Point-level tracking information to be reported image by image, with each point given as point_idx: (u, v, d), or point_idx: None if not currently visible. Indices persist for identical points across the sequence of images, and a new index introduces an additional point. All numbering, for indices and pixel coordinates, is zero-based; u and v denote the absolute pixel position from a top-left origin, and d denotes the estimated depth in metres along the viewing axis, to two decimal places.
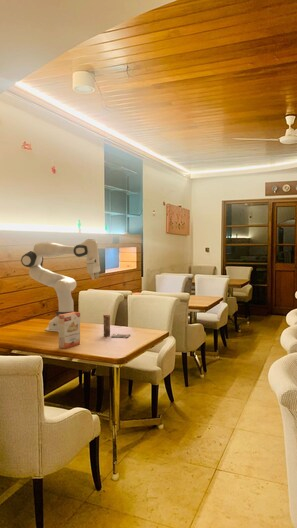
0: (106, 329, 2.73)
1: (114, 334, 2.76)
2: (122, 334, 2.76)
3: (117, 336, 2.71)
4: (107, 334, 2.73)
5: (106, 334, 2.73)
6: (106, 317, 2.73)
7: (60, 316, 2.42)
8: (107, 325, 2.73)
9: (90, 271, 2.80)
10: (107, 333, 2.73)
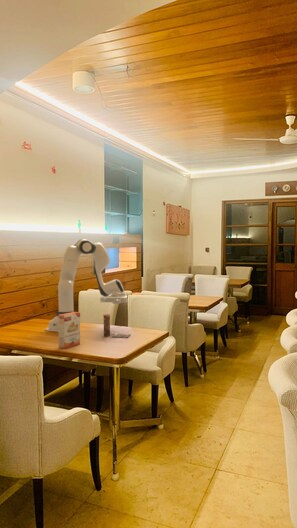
0: (106, 329, 2.73)
1: (114, 334, 2.76)
2: (122, 334, 2.76)
3: (117, 336, 2.71)
4: (107, 334, 2.73)
5: (106, 334, 2.73)
6: (106, 317, 2.73)
7: (60, 316, 2.42)
8: (107, 325, 2.73)
9: (126, 299, 2.90)
10: (107, 333, 2.73)
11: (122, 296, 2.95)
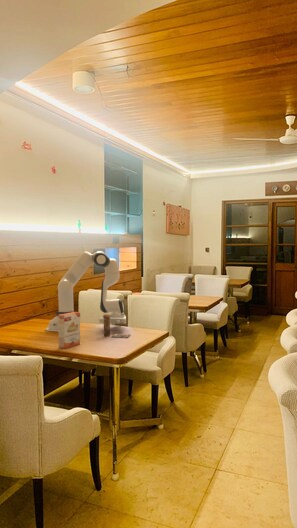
0: (106, 329, 2.73)
1: (114, 334, 2.76)
2: (122, 334, 2.76)
3: (117, 336, 2.71)
4: (107, 334, 2.73)
5: (106, 334, 2.73)
6: (106, 317, 2.73)
7: (60, 316, 2.42)
8: (107, 325, 2.73)
9: (125, 321, 2.88)
10: (107, 333, 2.73)
11: (121, 317, 2.93)
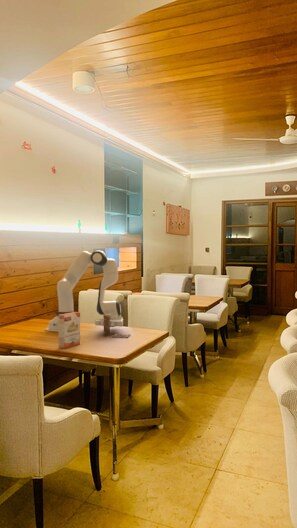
0: (106, 329, 2.73)
1: (114, 334, 2.76)
2: (122, 334, 2.76)
3: (117, 336, 2.71)
4: (107, 334, 2.73)
5: (106, 334, 2.73)
6: (106, 317, 2.73)
7: (60, 316, 2.42)
8: (107, 325, 2.73)
9: (122, 323, 2.79)
10: (107, 333, 2.73)
11: (118, 319, 2.83)
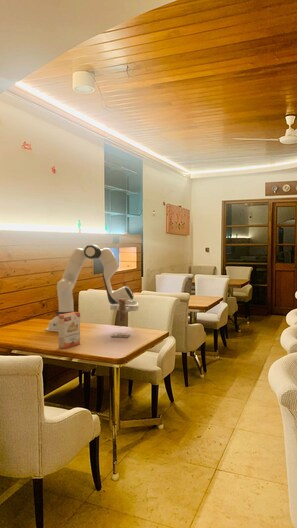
0: (122, 313, 2.71)
1: (114, 334, 2.76)
2: (122, 334, 2.76)
3: (117, 336, 2.71)
4: (123, 318, 2.71)
5: (122, 318, 2.71)
6: (122, 301, 2.70)
7: (60, 316, 2.42)
8: (123, 309, 2.71)
9: (137, 308, 2.76)
10: (123, 317, 2.71)
11: (133, 304, 2.81)
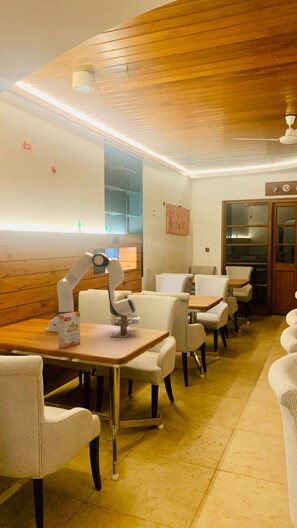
0: (123, 328, 2.71)
1: (114, 334, 2.76)
2: None
3: (117, 336, 2.71)
4: (124, 333, 2.71)
5: (123, 333, 2.71)
6: (123, 316, 2.70)
7: (60, 316, 2.42)
8: (124, 324, 2.71)
9: (138, 321, 2.76)
10: (124, 332, 2.71)
11: (134, 317, 2.81)
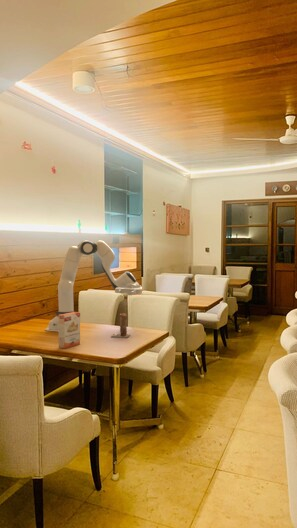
0: (123, 329, 2.71)
1: (114, 334, 2.76)
2: None
3: (117, 336, 2.71)
4: (124, 334, 2.71)
5: (123, 334, 2.71)
6: (123, 316, 2.70)
7: (60, 316, 2.42)
8: (124, 324, 2.71)
9: (141, 291, 2.88)
10: (124, 333, 2.71)
11: None
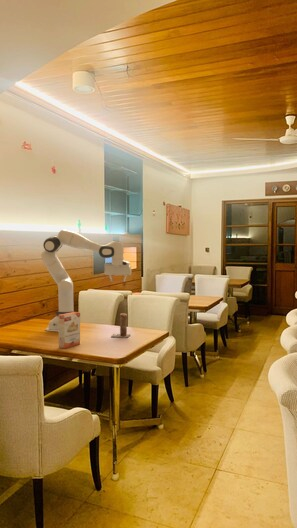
0: (123, 328, 2.71)
1: (114, 334, 2.76)
2: None
3: (117, 336, 2.71)
4: (124, 334, 2.71)
5: (123, 334, 2.71)
6: (123, 316, 2.70)
7: (60, 316, 2.42)
8: (124, 324, 2.71)
9: (131, 272, 2.88)
10: (124, 333, 2.71)
11: (125, 267, 2.86)
